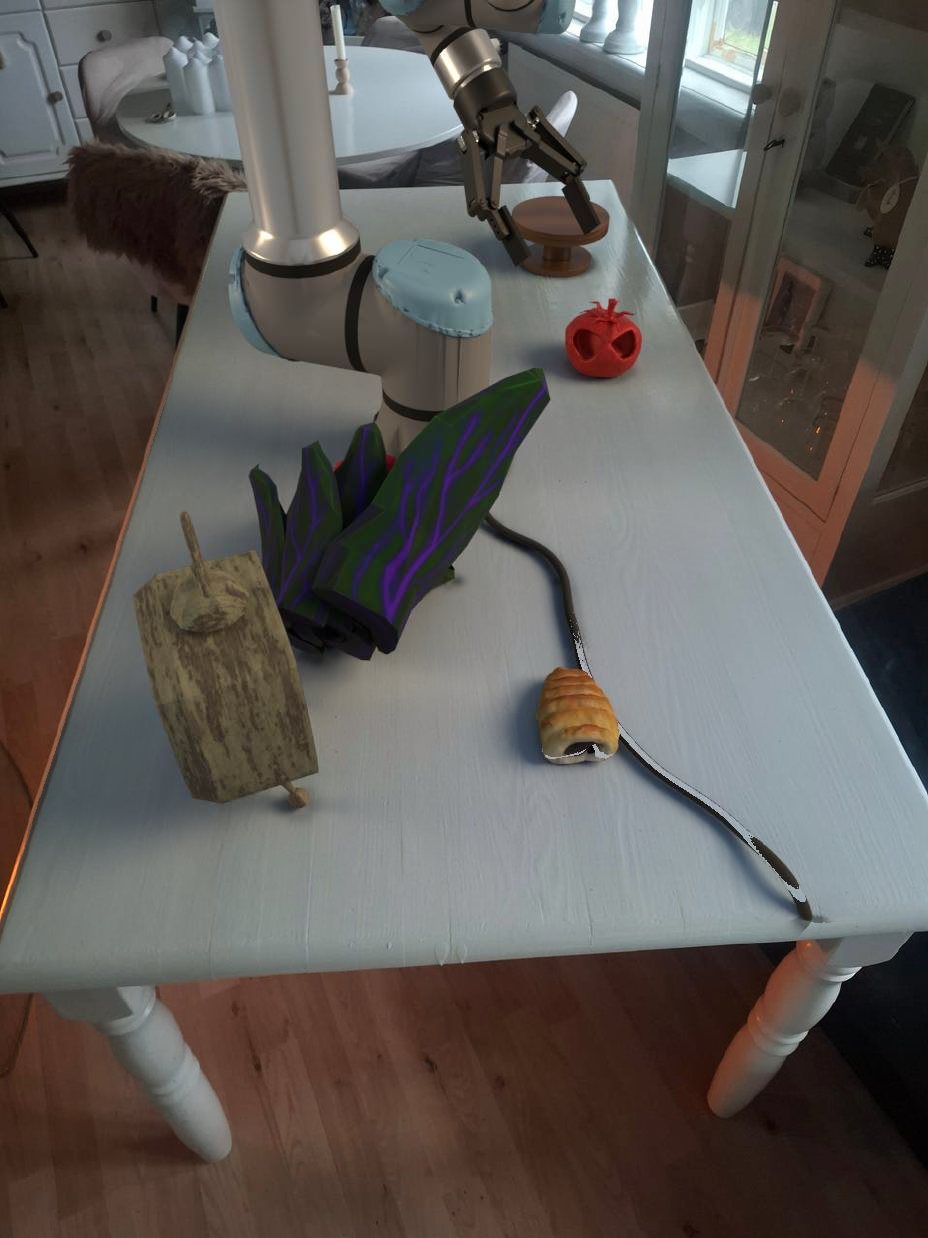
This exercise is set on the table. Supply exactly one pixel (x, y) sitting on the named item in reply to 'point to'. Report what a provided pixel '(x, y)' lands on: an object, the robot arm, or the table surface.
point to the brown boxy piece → (225, 677)
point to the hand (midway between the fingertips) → (559, 244)
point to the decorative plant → (388, 519)
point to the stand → (556, 236)
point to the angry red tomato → (603, 341)
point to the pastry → (575, 718)
